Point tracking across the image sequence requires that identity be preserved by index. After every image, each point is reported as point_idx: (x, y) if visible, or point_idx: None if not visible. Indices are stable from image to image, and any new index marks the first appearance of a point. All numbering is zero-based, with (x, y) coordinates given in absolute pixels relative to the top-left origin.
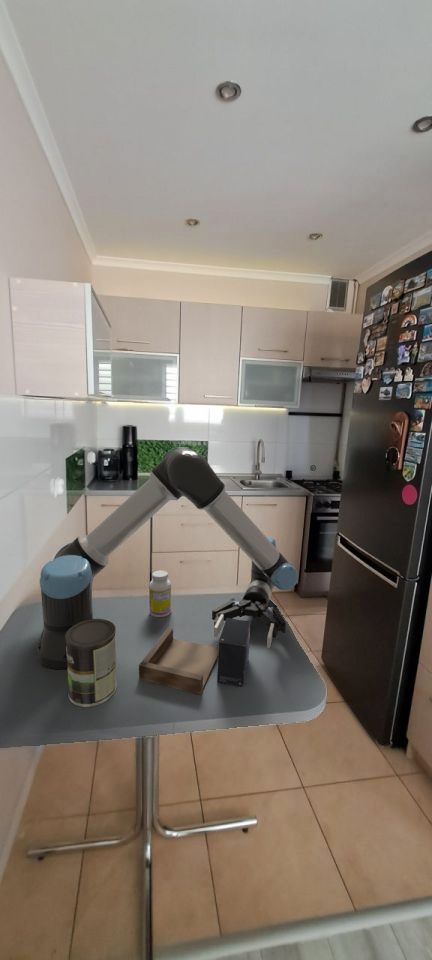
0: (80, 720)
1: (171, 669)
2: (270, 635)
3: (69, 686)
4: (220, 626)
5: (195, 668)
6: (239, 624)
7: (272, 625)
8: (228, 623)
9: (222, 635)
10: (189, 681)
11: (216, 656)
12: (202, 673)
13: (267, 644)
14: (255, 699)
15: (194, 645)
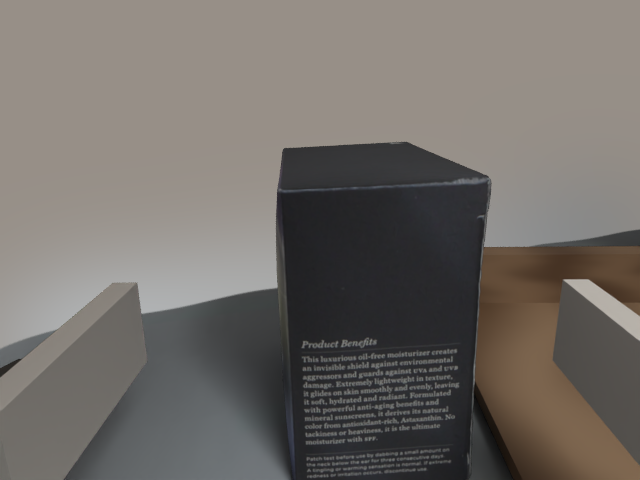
0: (635, 238)
1: (566, 252)
2: (102, 295)
3: None
4: (618, 394)
5: (535, 348)
6: (352, 167)
7: (5, 384)
8: (433, 163)
9: (410, 147)
10: None
11: (500, 421)
12: (483, 336)
13: (141, 338)
14: (239, 320)
15: None
